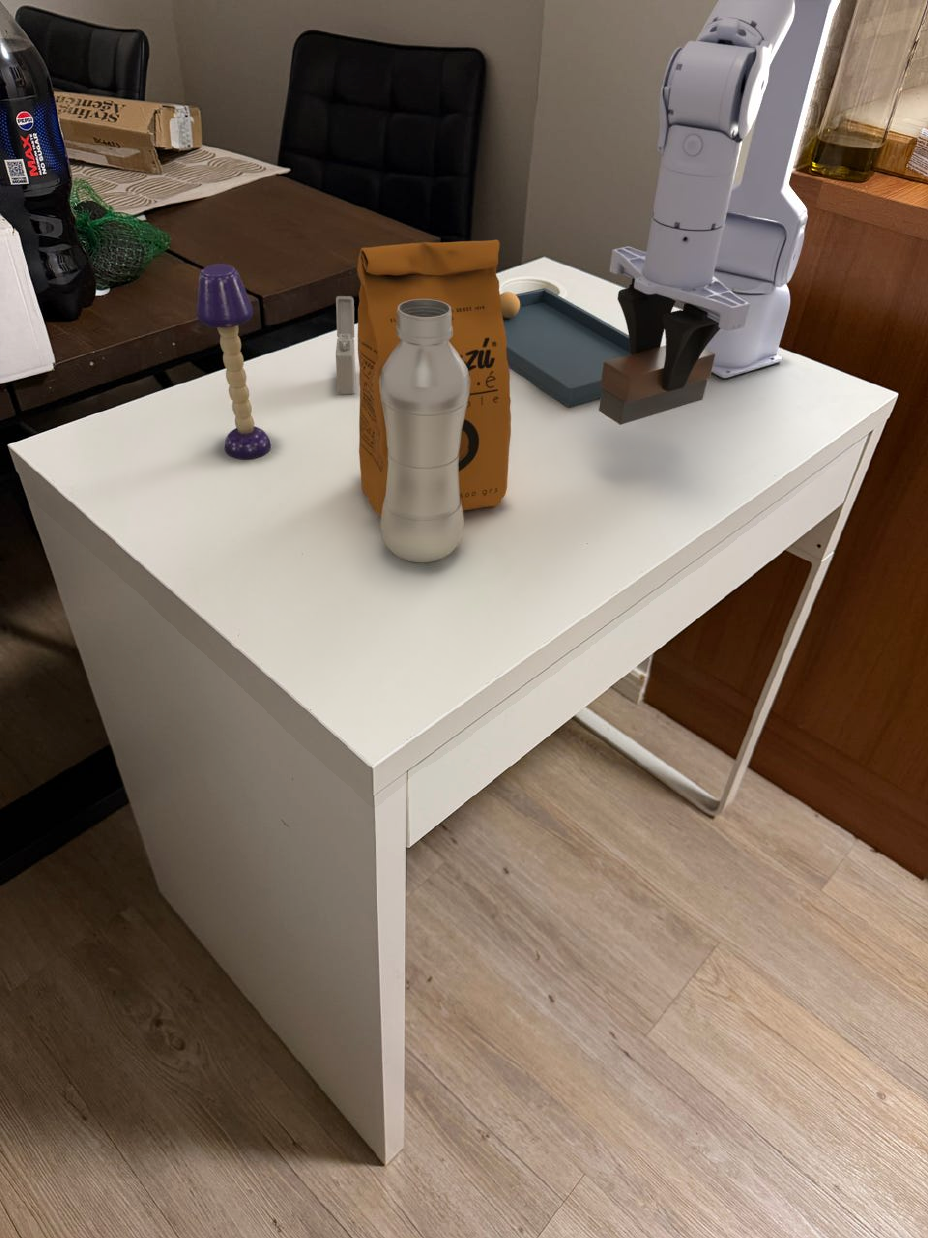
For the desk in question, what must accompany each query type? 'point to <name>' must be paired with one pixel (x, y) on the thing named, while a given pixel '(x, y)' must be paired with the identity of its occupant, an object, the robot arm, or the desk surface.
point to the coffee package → (477, 337)
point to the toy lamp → (232, 352)
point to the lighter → (345, 345)
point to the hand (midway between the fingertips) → (657, 378)
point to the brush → (648, 385)
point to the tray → (561, 346)
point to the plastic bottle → (423, 434)
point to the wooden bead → (509, 304)
